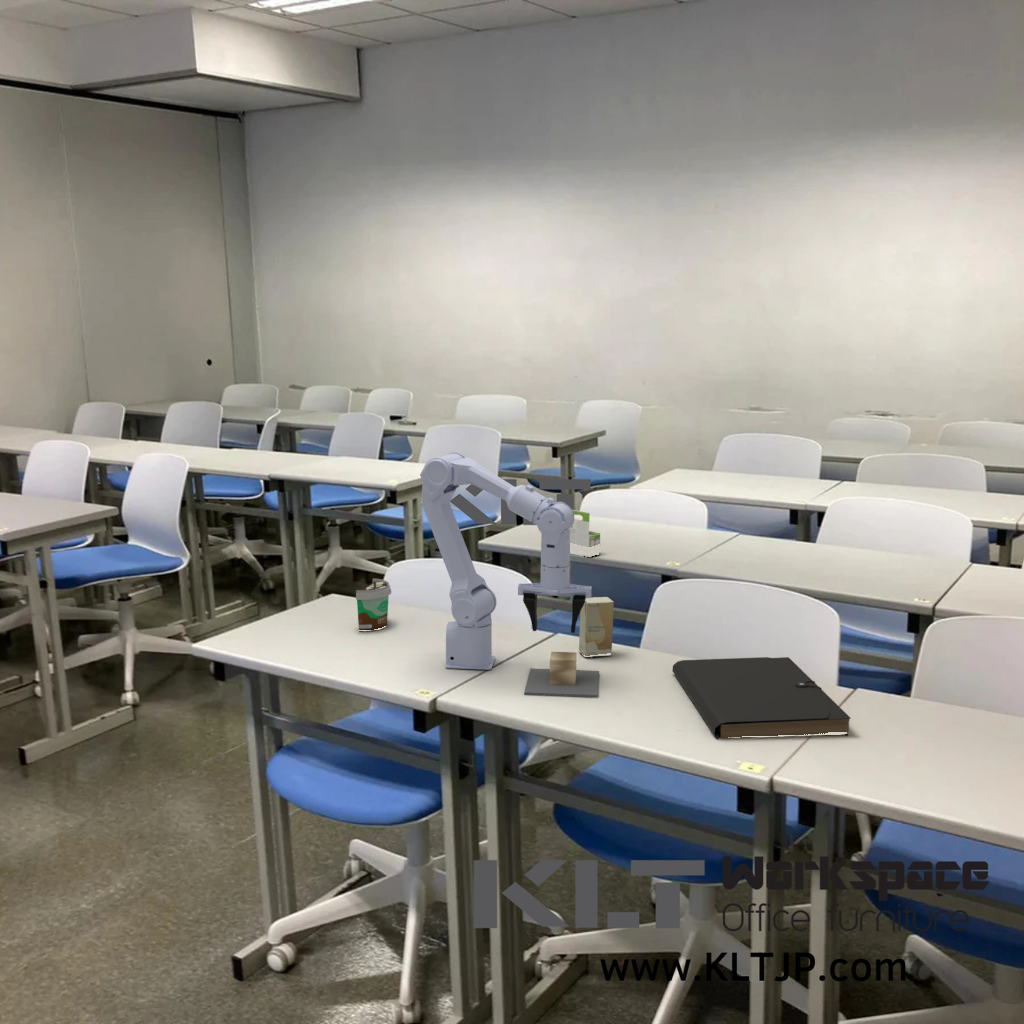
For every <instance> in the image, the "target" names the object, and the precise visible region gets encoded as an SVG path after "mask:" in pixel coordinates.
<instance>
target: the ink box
mask: <svg viewBox="0 0 1024 1024" xmlns="http://www.w3.org/2000/svg"><path fill="white" fill-rule="evenodd" d="M572 511H573V513H574V515H579V516H581V517H582V519H577V518H574V523H573V525H572V526H571V527H570V528H569V529H568V530H570V543H573V544H577V545H581V546H586V547H592V546H595V545H598V544H600V545H601V533H600V532H597V531H590V512H586V511H583V510H582V511H581V510H577V509H576V510H575V509H572ZM566 531H567V530H566Z"/></svg>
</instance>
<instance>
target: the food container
mask: <svg viewBox="0 0 1024 1024" xmlns="http://www.w3.org/2000/svg"><path fill="white" fill-rule="evenodd" d="M391 594H392V588H391V585H390V582H389V581H387V580H385V579H380V578H372V582H371V583H370V584H368V585H365V586H364V588H362V589H361V590H357V589H356V591H355V600H356V605H357V622H358V624H357V625H358V631H359V630H374V629H378V628H382V627H384V626H386V625H387V626H388V616H389V613H388V612H389V599H390V598H389V597H390V595H391ZM387 626H386V627H387Z"/></svg>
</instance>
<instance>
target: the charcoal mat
mask: <svg viewBox="0 0 1024 1024" xmlns="http://www.w3.org/2000/svg"><path fill="white" fill-rule="evenodd" d="M599 681H600V671H599V670H589V669H588V670H587V669H586V670H584V669H583V670H581V669H576V681H575V685H561V684H549V683H550V668H535V667H534V668H532V667H531V668H529V673H528V677H527V679H526V685H525V687H524V688H525V689H524V692H523V695H524V696H543V695H545V696H547V697H548V696H549V697H571V698H592V697H598V696H599V684H598V683H600V682H599ZM598 698H599V697H598Z"/></svg>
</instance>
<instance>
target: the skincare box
mask: <svg viewBox="0 0 1024 1024" xmlns="http://www.w3.org/2000/svg"><path fill="white" fill-rule="evenodd" d="M614 603H615V602H614V601H613V600H612V599H611V598H610V597H608V596H601V597H599V596H598V597H596V596H595V597H594V596H593V597H592V596H591V598H586V599H585V603H584V605H583V607H582V609H581V611H580V614H579V616H580V617H579V637H578V639H579V640H578V643H579V644H578V652H579V651H580V652H581V653H582V654H583V655H585V656H590V655H598V654H607V653H613V651H612V649H613V632H614V631H613V630H614V629H613V628H614V627H613V625H614V608H615V607H614Z"/></svg>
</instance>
